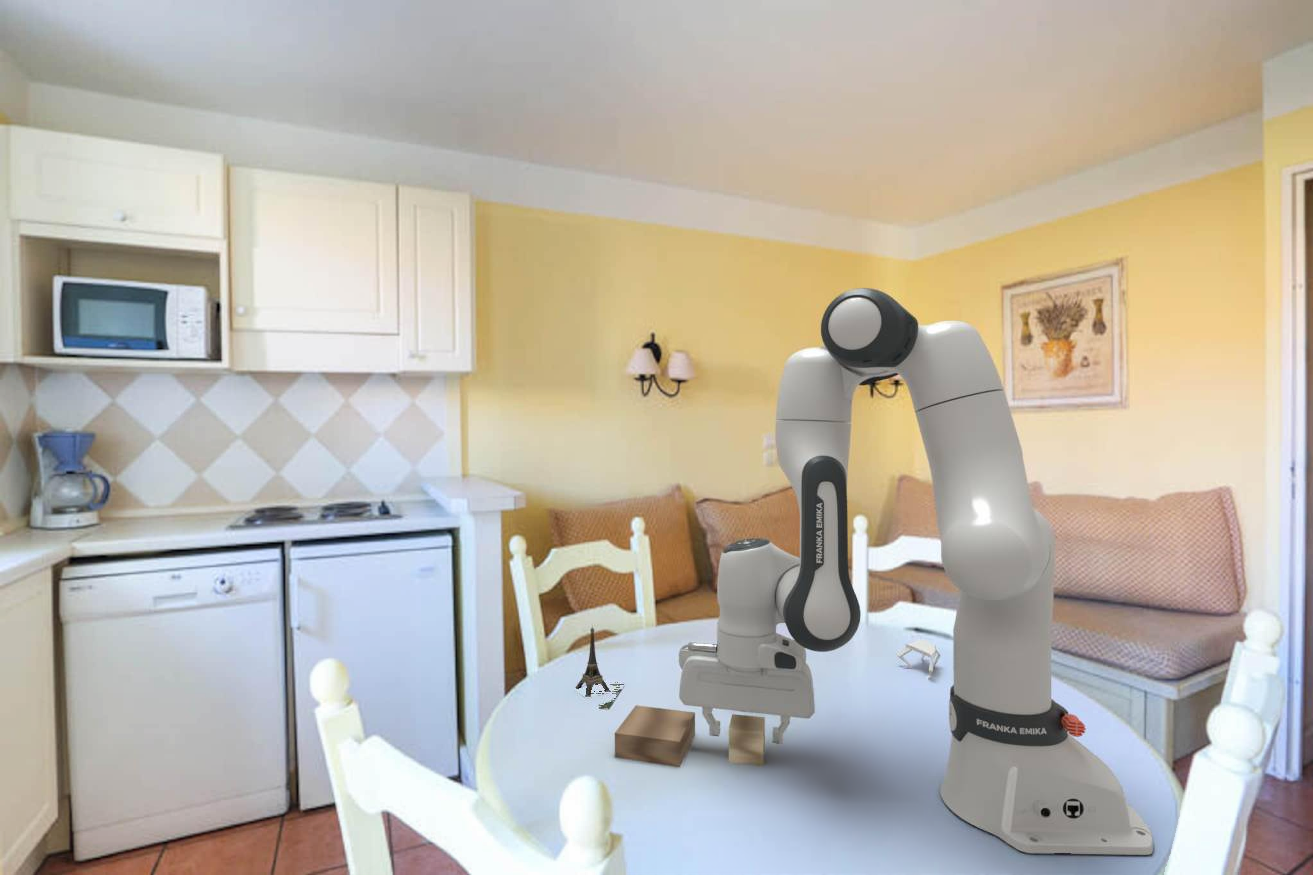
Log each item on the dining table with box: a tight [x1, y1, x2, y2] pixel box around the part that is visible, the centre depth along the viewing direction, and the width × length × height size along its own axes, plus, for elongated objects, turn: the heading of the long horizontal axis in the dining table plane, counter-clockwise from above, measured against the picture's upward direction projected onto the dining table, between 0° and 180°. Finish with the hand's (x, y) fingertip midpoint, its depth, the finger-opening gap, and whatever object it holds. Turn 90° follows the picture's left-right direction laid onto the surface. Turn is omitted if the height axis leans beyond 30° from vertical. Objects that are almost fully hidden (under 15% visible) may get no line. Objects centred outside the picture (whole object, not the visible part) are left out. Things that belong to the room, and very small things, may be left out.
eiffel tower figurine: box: [575, 626, 625, 710], centre depth 117 cm, size 15×10×13 cm
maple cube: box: [728, 713, 766, 767], centre depth 93 cm, size 5×5×5 cm
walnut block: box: [614, 704, 696, 768], centre depth 96 cm, size 10×10×4 cm
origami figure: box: [896, 638, 942, 680], centre depth 126 cm, size 12×8×5 cm
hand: (745, 738), depth 94 cm, fingers open, 8 cm apart
